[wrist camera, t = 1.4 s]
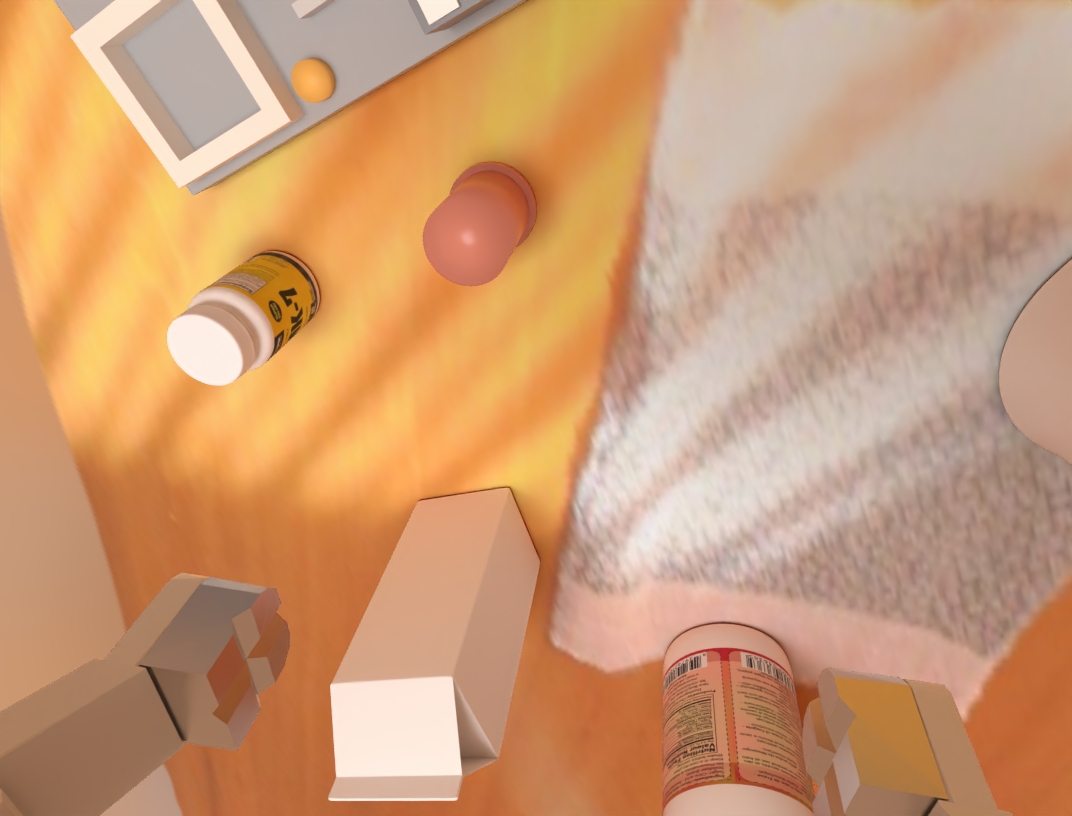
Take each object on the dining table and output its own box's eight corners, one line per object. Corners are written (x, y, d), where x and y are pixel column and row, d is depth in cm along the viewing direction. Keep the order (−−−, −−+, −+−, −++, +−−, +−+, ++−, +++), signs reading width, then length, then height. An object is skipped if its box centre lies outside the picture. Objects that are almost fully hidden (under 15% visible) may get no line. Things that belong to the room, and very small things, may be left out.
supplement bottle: (322, 331, 41) (252, 403, 34) (249, 313, 41) (165, 382, 34) (322, 258, 39) (246, 320, 32) (243, 240, 39) (151, 297, 32)
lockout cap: (511, 146, 34) (485, 175, 29) (551, 229, 35) (532, 270, 30) (435, 184, 35) (397, 218, 30) (477, 262, 37) (448, 305, 32)
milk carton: (417, 499, 48) (294, 758, 32) (510, 485, 45) (428, 755, 30) (453, 570, 51) (358, 836, 35) (541, 560, 49) (482, 838, 33)
